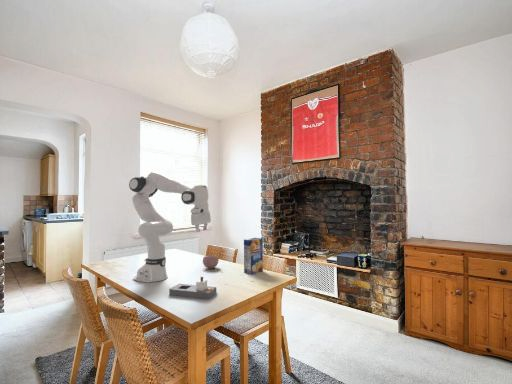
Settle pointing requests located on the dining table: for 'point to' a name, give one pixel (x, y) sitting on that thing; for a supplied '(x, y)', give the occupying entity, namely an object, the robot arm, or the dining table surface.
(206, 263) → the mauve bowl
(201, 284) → the plug
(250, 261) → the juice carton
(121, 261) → the dining table surface
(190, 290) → the power strip
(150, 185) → the robot arm
